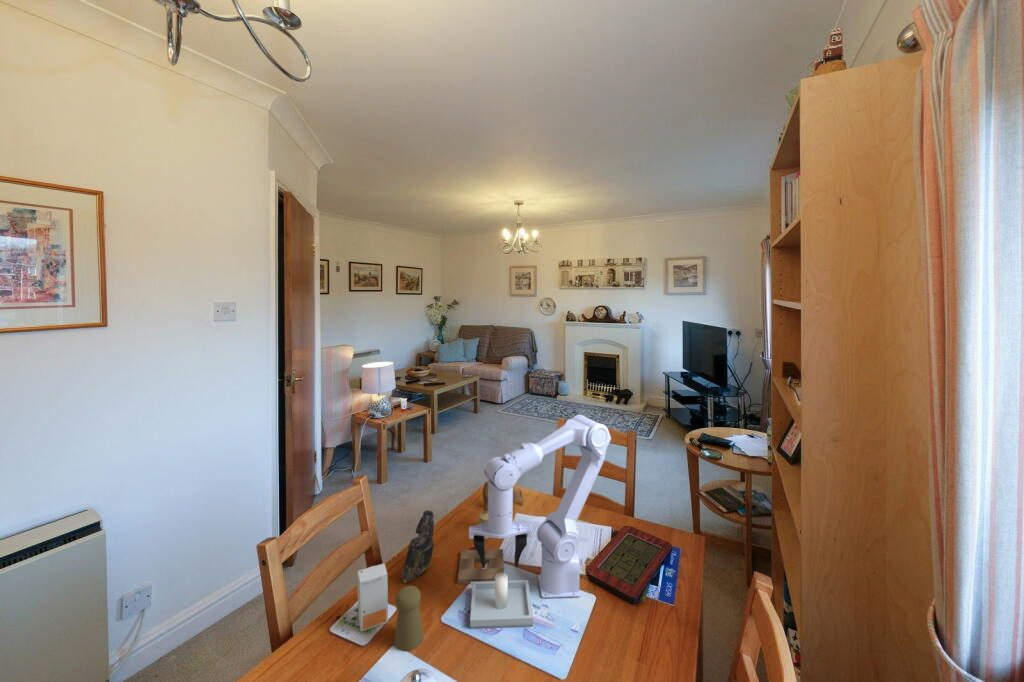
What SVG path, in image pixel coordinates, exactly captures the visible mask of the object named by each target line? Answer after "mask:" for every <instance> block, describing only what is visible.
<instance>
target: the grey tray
mask: <svg viewBox="0 0 1024 682" xmlns="http://www.w3.org/2000/svg"><path fill="white" fill-rule="evenodd" d="M529 584H530V583H529V579H522V580H521V579H520V580H519V579H517V580H516V579H515V580H513V579H512V580H508V600H507V607H506V608H505V609H497V608H496V607H495V581H481V582H473V584H472V590H471V601H470V602H471V603H470V604H471V605H470V616H469V618H470V619H469V622H470V623H469V625H470V626H469V628H470V630H471V629H473V630H474V629H498V628H520V627H521V628H524V627H525V628H527V627H534V615H533V608H532V601H531V600H532V599H531V592H530V586H529Z"/></svg>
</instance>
